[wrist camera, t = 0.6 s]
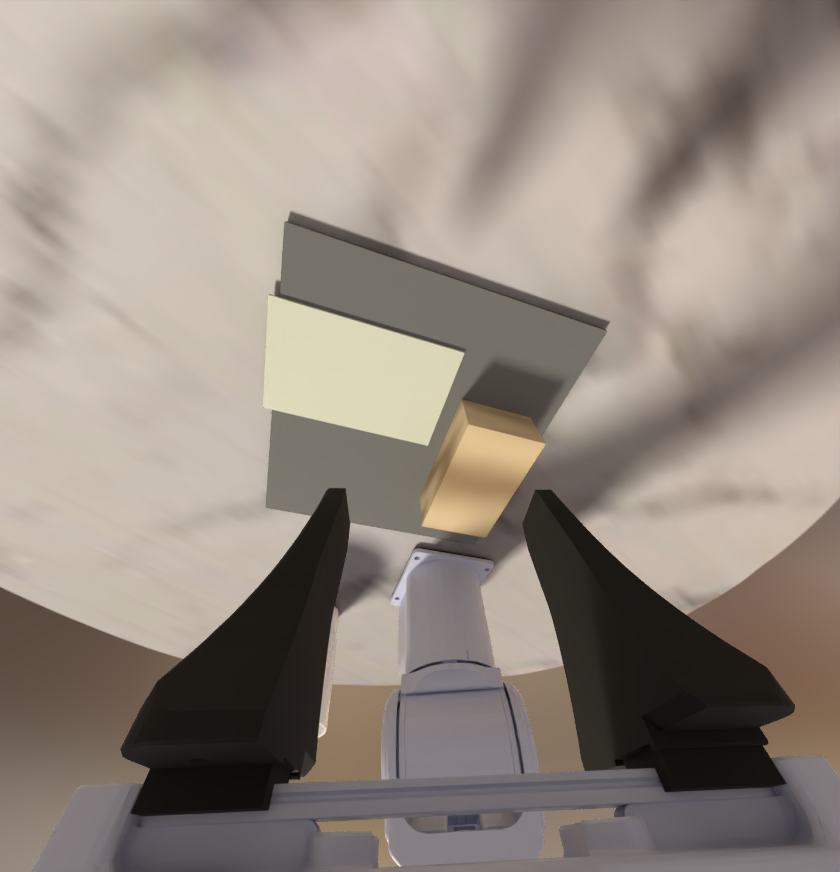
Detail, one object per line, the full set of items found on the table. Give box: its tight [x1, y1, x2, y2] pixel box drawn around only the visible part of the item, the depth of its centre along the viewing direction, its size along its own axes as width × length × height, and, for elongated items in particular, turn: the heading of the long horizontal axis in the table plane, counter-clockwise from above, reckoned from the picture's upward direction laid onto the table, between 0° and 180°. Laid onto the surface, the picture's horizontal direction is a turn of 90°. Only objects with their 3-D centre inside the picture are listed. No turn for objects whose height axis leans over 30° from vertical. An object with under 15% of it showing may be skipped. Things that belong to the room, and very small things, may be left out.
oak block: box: [420, 399, 546, 538], centre depth 23 cm, size 9×5×3 cm, turn 163°
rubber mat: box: [263, 222, 607, 544], centre depth 23 cm, size 20×18×1 cm
